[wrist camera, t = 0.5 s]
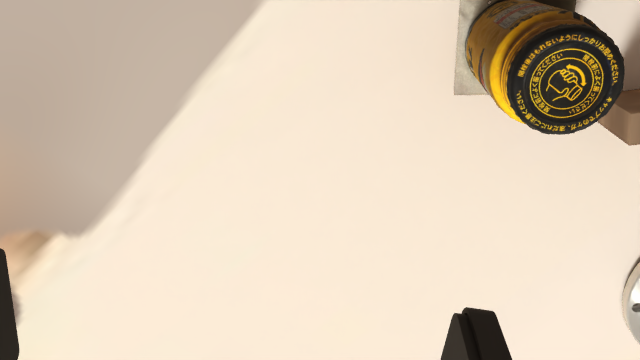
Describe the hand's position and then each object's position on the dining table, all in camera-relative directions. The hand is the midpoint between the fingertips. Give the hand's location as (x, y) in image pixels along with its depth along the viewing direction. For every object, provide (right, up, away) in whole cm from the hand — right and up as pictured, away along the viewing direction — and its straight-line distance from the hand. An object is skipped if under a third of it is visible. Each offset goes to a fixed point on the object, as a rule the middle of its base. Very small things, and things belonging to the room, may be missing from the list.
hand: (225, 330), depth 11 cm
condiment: (+15, +13, +24) cm, 31 cm away
